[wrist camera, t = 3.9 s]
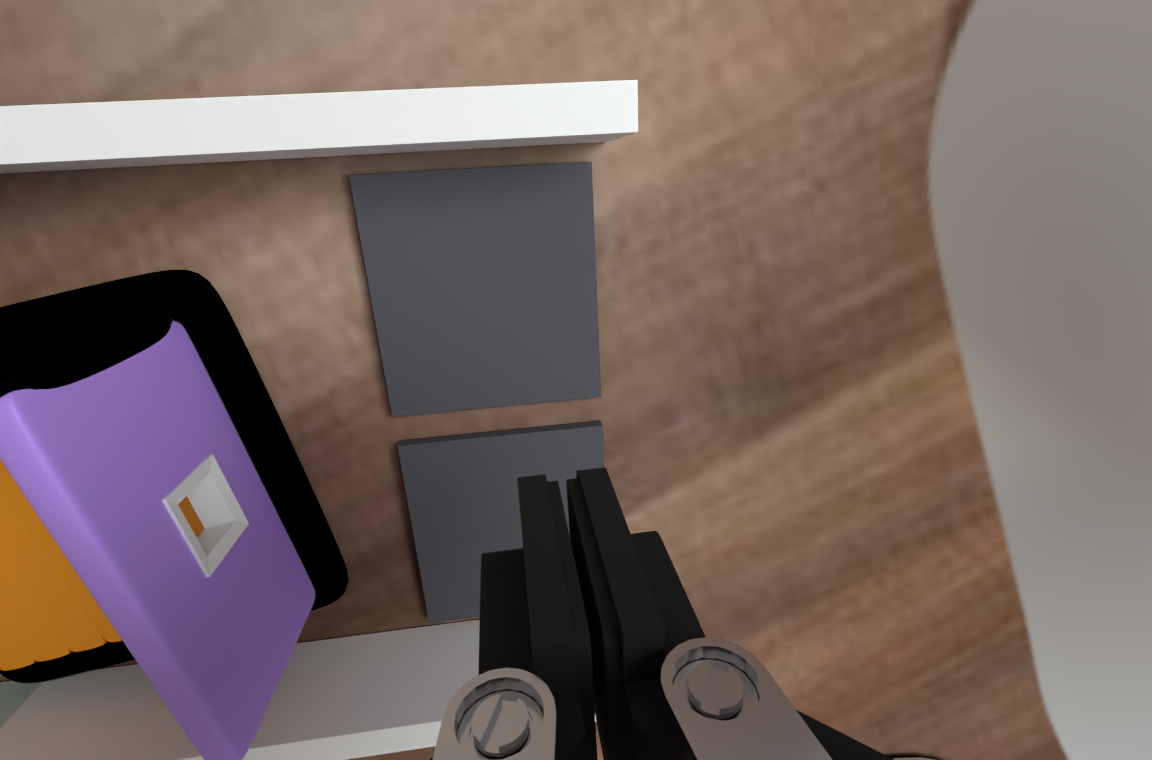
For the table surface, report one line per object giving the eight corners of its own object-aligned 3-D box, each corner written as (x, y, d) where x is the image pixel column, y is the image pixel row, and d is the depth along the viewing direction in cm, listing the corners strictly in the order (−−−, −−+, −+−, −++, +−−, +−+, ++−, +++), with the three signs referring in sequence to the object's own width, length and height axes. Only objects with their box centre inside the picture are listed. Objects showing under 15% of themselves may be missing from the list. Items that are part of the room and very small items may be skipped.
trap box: (605, 102, 16) (648, 71, 11) (621, 621, 22) (654, 743, 17) (-613, 157, 13) (-1244, 148, 8) (-199, 732, 19) (-425, 912, 14)
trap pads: (589, 162, 16) (591, 162, 16) (607, 591, 21) (609, 599, 21) (352, 174, 15) (349, 175, 15) (430, 614, 21) (429, 622, 20)
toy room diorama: (210, 255, 16) (13, 309, 10) (362, 588, 20) (296, 780, 14) (-224, 362, 16) (-733, 493, 9) (24, 679, 20) (-204, 919, 13)
